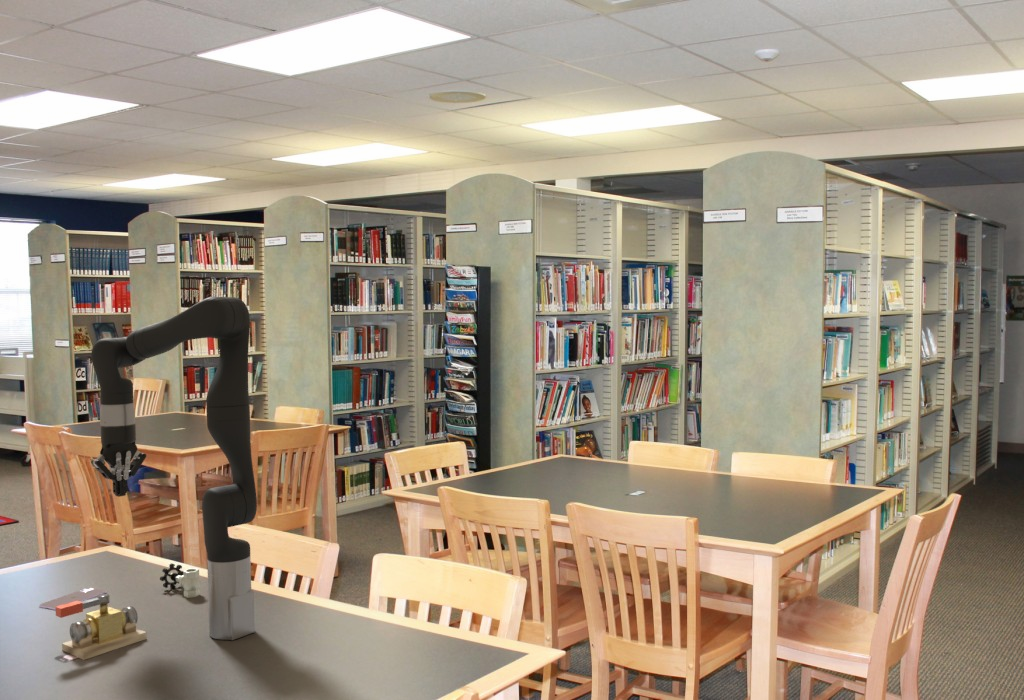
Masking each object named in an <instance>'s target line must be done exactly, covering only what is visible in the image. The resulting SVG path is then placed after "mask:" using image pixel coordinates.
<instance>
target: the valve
mask: <svg viewBox="0 0 1024 700" xmlns="http://www.w3.org/2000/svg"><path fill="white" fill-rule="evenodd" d="M168 565H169V566H168V567H169V568H167V567H166V568H165V567H164V568H162V573H163V574H164V575H162V576H160V577H159V580H160V581H161V582H163V585H162V587H163V588H165V589H166V588H167V589H168V587H170V589H172V590H174V589H176V588H177V586H176V585H177V584H179V586H180V587H182V588H183V589H184V590H183V597H184V598H188V599H191V598H196V597H198V596H200V594H201V592H200V591H201V590H200V587H201V586H200V585H201V579H200V569H198V568H193V567H192V568H187V569H185V570H182V568H183V565H181V564H177V565H175V564H174V563H170V564H168ZM171 571H176V572H171ZM170 572H171V573H170ZM168 579H170V581H171V582H170V581H169V580H168Z"/></svg>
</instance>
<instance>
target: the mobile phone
mask: <svg viewBox="0 0 1024 700" xmlns="http://www.w3.org/2000/svg"><path fill="white" fill-rule="evenodd" d="M107 593H108V591H107V590H105V589H99V588H93V587H86V588H83V589H80V590H78V591H75V592H71V593H69V594H65V595H63V596H59V597H57V598H54V599H51V600H48V601H46V602H43V603H41V604H39V605H38V608H40V609H45V610H51V611H56V607H57V606H60V605H64V604H67V603H71V602H75V601H80V602H82V601H86V600H89V599H93V598H96V597H97V596H99V595H103V594H107Z"/></svg>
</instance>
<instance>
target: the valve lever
mask: <svg viewBox="0 0 1024 700" xmlns="http://www.w3.org/2000/svg"><path fill="white" fill-rule="evenodd" d="M110 598H111V597H110V594H107V593H106V594H103V595H99V596H97V597H95V598H93V599H89V600H86V601H82V602H80V601H75V602H71V603H67V604H64V605H60V606H57V607H56V610H55V616H56V617H59V618H61V619H62V618H65V617H69V616H72V615H75V614H79V613H82V612H83V611H84V610H86V609H90V608H92V607H96V606H100V605H104V604H108V605H109V604H110V603H111V601H110V600H111V599H110Z"/></svg>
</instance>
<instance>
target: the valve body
mask: <svg viewBox="0 0 1024 700" xmlns="http://www.w3.org/2000/svg"><path fill="white" fill-rule="evenodd" d="M108 605H109V603H108V604H104V605H99V609H97V610H93V611H90V612H87V613H85V618H84V620H80V621H77V622H74V623H71V624H70V625H69V636H70V639H71V641H73V642H74V643H79V642H80V640H81V639H84V638H87V636H88V635H92V641H93V642H96V643H98V644H101V643H104V642H107V641H111V640H114V639H117V638H120V637H123V632H122V629H124V628H125V627H126V623H129V622H130V624H132V623H135V622H136V624H137V623H138V617H139V616H138V613H137V612H138V611H137V610H136V608H135V607H134V606H132V605H130V606H126V607H123V608H122V609H121V608H119V609H118V608H114V607H110V606H108Z"/></svg>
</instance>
